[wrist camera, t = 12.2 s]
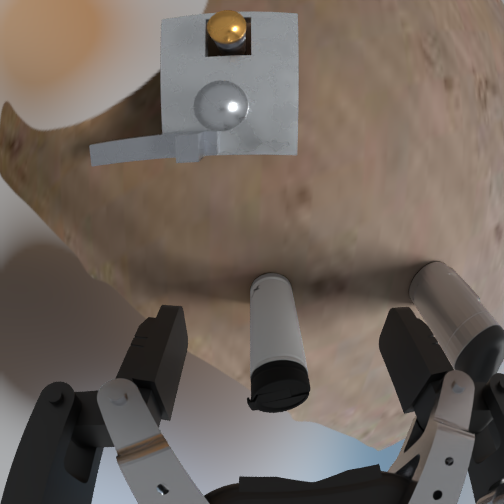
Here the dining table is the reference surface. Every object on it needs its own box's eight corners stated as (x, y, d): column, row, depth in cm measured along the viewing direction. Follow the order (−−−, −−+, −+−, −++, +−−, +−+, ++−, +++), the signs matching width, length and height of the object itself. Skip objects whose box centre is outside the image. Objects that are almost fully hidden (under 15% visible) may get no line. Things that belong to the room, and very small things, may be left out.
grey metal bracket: (289, 25, 26) (312, -20, 13) (289, 148, 34) (312, 170, 21) (117, 41, 26) (57, 18, 13) (121, 156, 33) (61, 184, 21)
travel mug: (243, 277, 42) (239, 391, 25) (287, 268, 42) (308, 379, 24) (253, 309, 45) (255, 420, 27) (294, 300, 44) (315, 410, 27)
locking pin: (246, 36, 27) (246, 9, 18) (247, 60, 28) (246, 41, 19) (218, 37, 27) (207, 11, 18) (218, 61, 28) (206, 43, 19)
